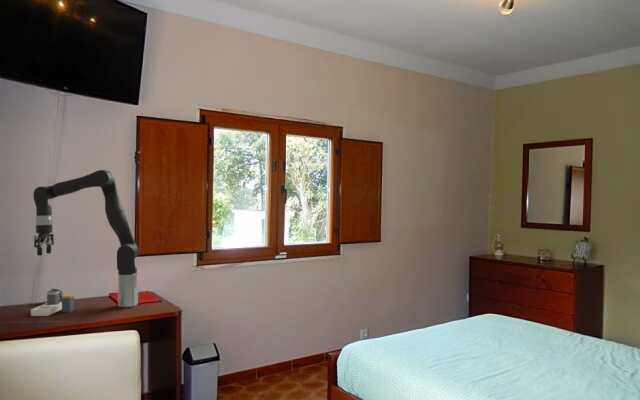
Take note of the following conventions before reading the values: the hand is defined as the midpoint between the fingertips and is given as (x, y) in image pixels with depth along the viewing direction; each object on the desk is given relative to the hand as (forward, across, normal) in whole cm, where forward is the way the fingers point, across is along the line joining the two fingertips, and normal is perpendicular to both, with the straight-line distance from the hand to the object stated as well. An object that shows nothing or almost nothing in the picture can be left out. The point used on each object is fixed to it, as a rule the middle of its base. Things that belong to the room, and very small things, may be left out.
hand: (44, 254), depth 239 cm
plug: (+28, -14, -19) cm, 37 cm away
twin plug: (+27, -10, -10) cm, 31 cm away
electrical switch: (+28, +3, -5) cm, 29 cm away
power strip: (+28, -15, -10) cm, 33 cm away
